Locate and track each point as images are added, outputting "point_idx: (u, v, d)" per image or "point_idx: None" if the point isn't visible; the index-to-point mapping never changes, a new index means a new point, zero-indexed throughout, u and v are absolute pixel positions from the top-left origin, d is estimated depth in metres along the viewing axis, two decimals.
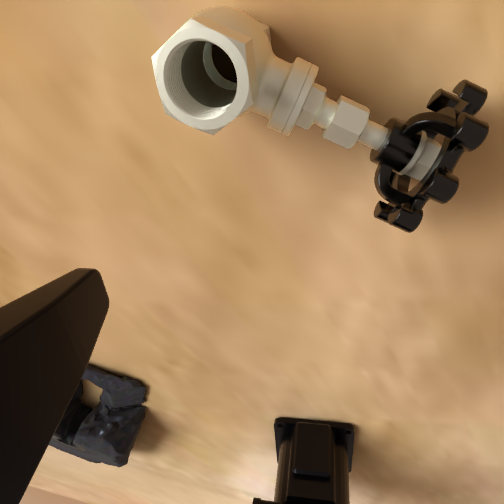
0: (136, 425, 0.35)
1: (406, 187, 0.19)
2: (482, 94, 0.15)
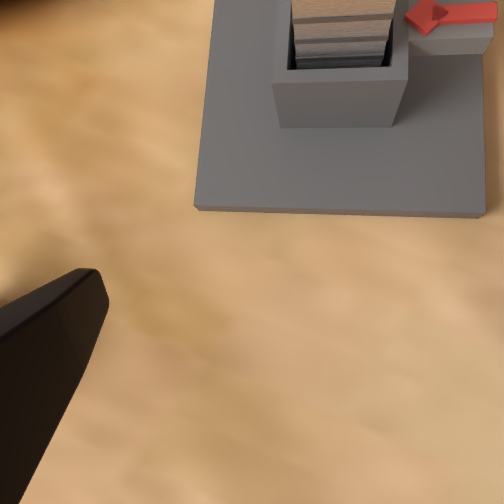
0: None
1: None
2: None
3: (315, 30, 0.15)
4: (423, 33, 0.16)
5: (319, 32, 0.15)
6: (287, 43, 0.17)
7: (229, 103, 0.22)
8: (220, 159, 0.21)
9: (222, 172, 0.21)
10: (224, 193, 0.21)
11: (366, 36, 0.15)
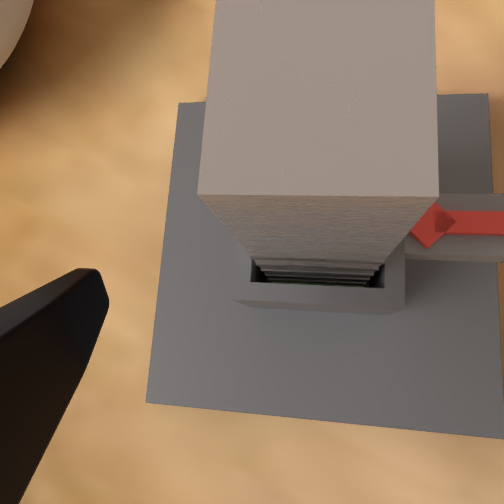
0: None
1: None
2: None
3: (282, 262, 0.12)
4: (423, 246, 0.13)
5: (287, 263, 0.12)
6: None
7: (190, 270, 0.18)
8: (178, 343, 0.18)
9: (180, 361, 0.17)
10: (182, 389, 0.17)
11: (349, 267, 0.12)
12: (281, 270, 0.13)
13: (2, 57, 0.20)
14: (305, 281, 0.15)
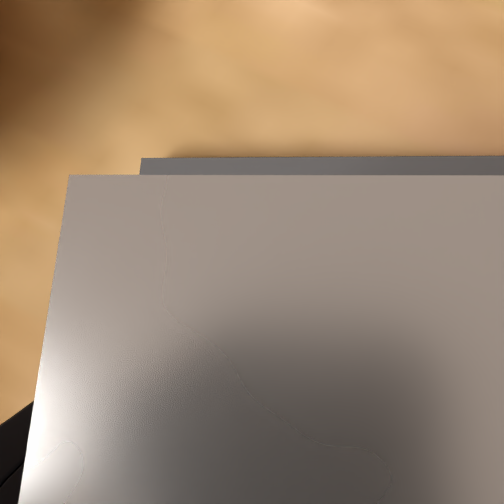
0: None
1: None
2: None
3: None
4: None
5: None
6: None
7: None
8: None
9: None
10: None
11: None
12: None
13: None
14: None
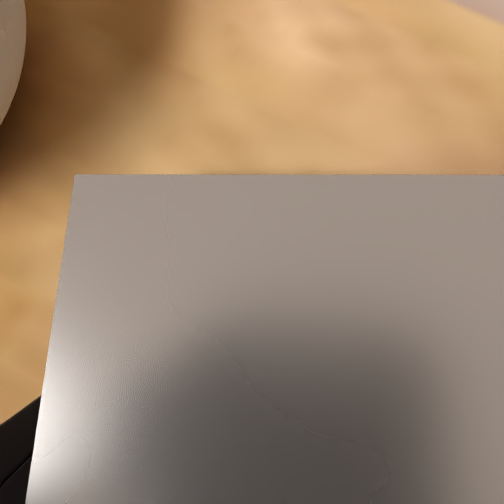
0: None
1: None
2: None
3: None
4: None
5: None
6: None
7: None
8: None
9: None
10: None
11: None
12: None
13: None
14: None
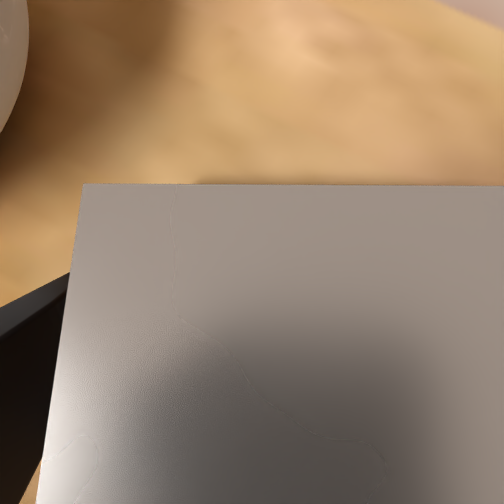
0: None
1: None
2: None
3: None
4: None
5: None
6: None
7: None
8: None
9: None
10: None
11: None
12: None
13: None
14: None
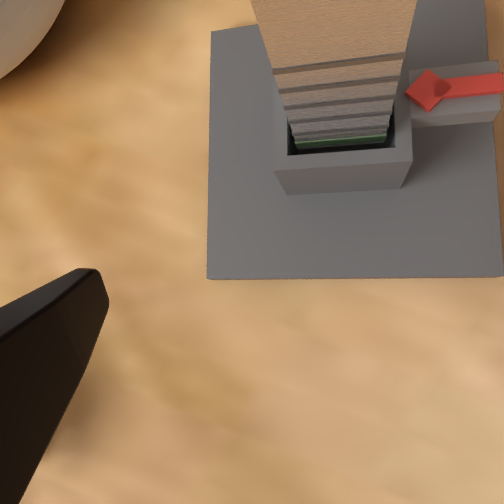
0: None
1: None
2: None
3: (303, 78, 0.12)
4: (426, 110, 0.16)
5: (309, 80, 0.12)
6: (286, 127, 0.17)
7: (233, 171, 0.22)
8: (229, 230, 0.21)
9: (232, 243, 0.21)
10: (235, 265, 0.21)
11: (371, 78, 0.12)
12: (303, 103, 0.13)
13: (58, 7, 0.24)
14: (328, 131, 0.15)
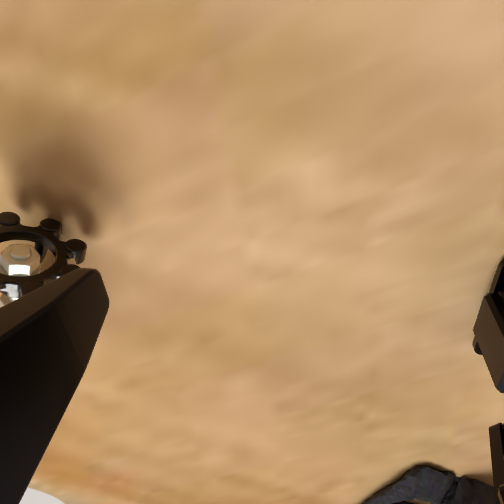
0: (474, 501, 0.30)
1: (56, 260, 0.22)
2: None
3: None
4: None
5: None
6: None
7: None
8: None
9: None
10: None
11: None
12: None
13: None
14: None
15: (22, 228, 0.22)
